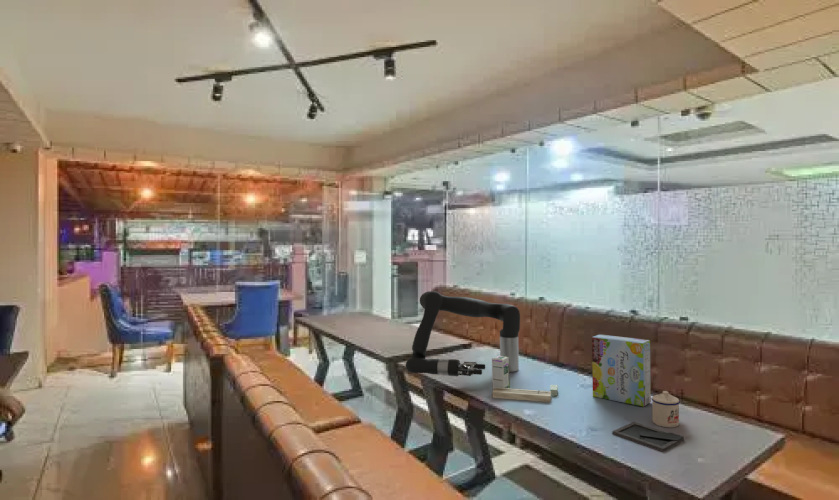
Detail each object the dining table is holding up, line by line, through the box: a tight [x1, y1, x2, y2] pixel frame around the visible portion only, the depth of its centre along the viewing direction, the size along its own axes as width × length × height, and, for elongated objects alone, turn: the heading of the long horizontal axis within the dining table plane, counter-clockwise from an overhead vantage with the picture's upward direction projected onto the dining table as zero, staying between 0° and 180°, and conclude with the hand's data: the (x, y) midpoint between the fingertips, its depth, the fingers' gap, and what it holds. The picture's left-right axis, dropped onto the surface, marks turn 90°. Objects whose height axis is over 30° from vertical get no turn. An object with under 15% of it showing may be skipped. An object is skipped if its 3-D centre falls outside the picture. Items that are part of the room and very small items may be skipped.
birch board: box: [492, 388, 552, 403], centre depth 214 cm, size 6×24×3 cm, turn 73°
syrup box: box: [491, 355, 511, 391], centre depth 225 cm, size 6×6×14 cm
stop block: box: [549, 384, 559, 397], centre depth 219 cm, size 7×3×2 cm, turn 163°
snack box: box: [591, 334, 652, 407], centre depth 209 cm, size 22×9×26 cm, turn 47°
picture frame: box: [612, 421, 685, 453], centre depth 172 cm, size 13×2×18 cm
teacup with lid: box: [651, 390, 681, 428], centre depth 184 cm, size 12×9×12 cm
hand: (483, 369), depth 228 cm, fingers open, 8 cm apart
